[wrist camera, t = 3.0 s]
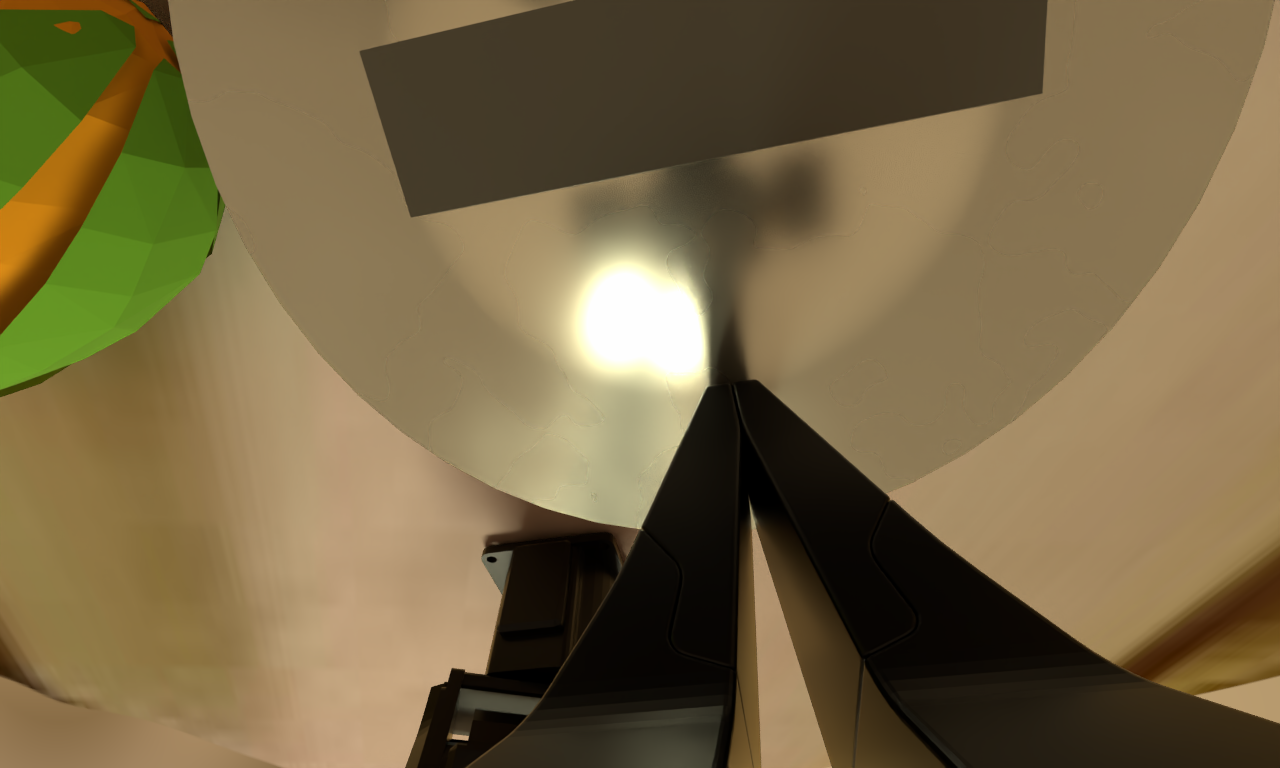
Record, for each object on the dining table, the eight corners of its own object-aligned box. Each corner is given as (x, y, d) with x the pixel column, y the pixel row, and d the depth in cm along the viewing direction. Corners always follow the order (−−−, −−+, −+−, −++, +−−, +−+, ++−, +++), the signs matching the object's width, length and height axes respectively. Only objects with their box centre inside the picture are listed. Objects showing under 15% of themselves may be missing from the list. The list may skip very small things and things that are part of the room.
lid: (1146, 448, 10) (1293, 534, 8) (400, 543, 12) (331, 636, 10) (1348, -1003, 5) (1939, -2031, 3) (1, -482, 7) (-369, -841, 4)
